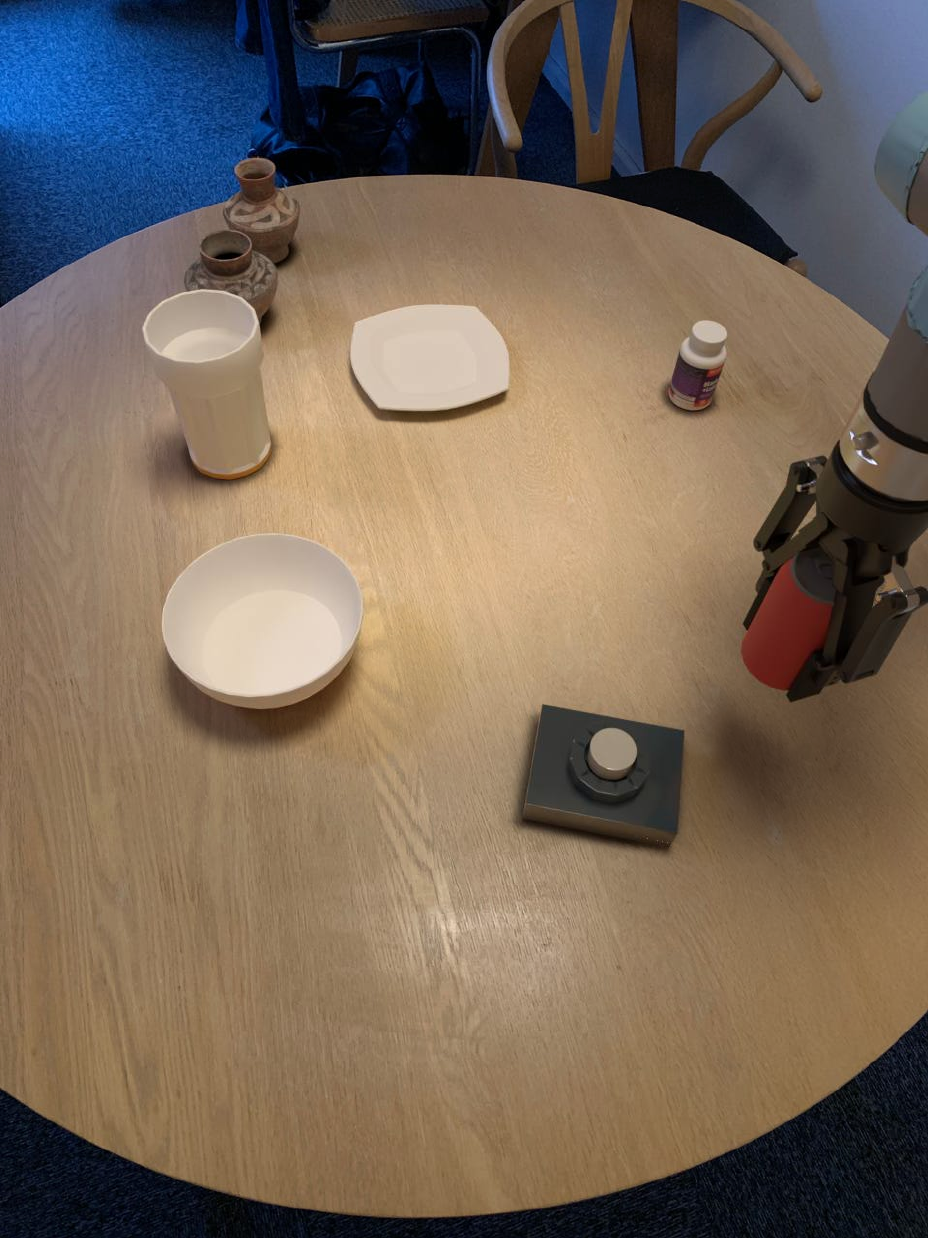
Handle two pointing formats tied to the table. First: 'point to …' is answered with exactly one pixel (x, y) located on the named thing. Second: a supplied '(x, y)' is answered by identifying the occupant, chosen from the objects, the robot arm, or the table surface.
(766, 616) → the beer can
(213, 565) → the bowl
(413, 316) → the plate
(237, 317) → the cup
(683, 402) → the pill bottle
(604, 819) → the beige button cap base
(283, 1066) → the table surface
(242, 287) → the pottery
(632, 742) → the beige button cap
